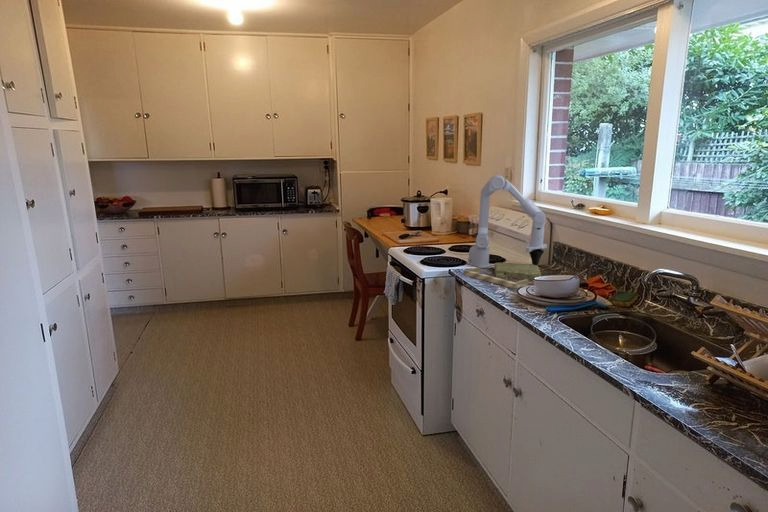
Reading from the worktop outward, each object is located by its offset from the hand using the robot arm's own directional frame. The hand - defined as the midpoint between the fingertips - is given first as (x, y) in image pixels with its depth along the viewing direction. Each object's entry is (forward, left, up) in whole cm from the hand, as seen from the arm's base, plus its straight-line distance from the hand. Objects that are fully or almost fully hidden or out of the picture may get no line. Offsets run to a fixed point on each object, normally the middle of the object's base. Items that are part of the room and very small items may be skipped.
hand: (535, 264), depth 226 cm
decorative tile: (0, -14, -3) cm, 15 cm away
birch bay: (0, -29, -2) cm, 29 cm away
